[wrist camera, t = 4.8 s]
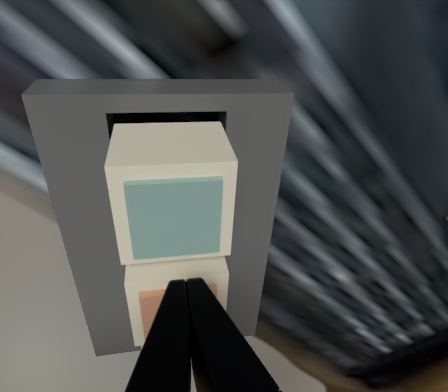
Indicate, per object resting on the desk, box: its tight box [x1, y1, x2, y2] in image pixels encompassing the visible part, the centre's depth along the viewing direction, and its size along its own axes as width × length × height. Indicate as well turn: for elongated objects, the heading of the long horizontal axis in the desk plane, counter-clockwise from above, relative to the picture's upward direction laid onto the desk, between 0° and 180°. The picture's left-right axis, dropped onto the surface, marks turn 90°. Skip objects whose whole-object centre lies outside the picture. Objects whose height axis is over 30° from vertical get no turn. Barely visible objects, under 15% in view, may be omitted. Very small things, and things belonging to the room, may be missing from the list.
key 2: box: [124, 256, 229, 346], centre depth 15 cm, size 4×4×4 cm
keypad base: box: [21, 79, 295, 356], centre depth 18 cm, size 10×16×2 cm, turn 177°
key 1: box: [104, 122, 238, 265], centre depth 13 cm, size 4×4×4 cm
